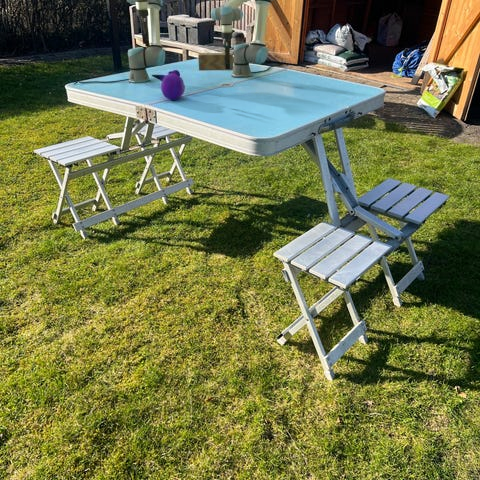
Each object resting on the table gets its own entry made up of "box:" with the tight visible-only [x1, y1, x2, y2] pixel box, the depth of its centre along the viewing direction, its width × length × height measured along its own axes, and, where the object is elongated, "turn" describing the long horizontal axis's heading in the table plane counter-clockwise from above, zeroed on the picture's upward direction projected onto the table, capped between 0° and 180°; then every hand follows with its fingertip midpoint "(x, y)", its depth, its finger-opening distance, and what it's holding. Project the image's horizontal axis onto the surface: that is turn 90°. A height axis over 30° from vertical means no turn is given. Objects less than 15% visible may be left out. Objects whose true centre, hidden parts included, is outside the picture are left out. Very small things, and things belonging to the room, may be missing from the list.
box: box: [197, 52, 234, 71], centre depth 309 cm, size 23×8×10 cm, turn 88°
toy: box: [151, 69, 186, 101], centre depth 286 cm, size 16×18×27 cm
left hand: (146, 45), depth 298 cm, fingers open, 13 cm apart
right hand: (228, 67), depth 311 cm, fingers closed on box, 8 cm apart
